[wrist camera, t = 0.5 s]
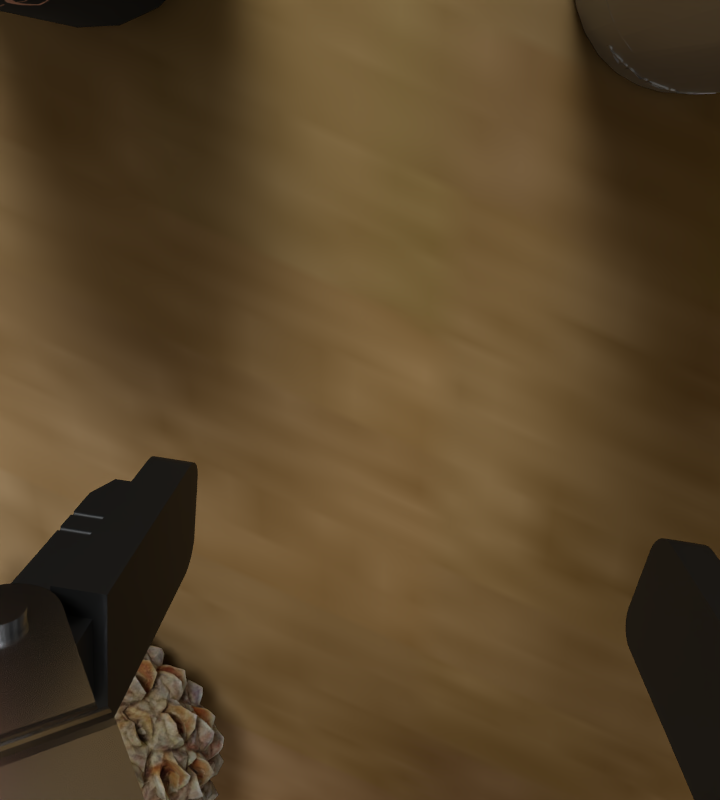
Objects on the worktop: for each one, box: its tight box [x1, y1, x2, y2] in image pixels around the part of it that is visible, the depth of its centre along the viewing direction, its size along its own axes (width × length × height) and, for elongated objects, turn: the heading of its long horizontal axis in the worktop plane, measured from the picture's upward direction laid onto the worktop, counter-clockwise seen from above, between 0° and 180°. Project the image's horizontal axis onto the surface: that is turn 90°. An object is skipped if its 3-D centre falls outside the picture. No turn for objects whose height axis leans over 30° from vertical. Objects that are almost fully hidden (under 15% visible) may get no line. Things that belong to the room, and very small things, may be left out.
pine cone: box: [115, 646, 224, 800], centre depth 35 cm, size 22×10×10 cm, turn 34°
